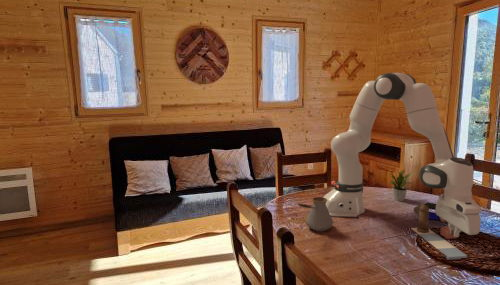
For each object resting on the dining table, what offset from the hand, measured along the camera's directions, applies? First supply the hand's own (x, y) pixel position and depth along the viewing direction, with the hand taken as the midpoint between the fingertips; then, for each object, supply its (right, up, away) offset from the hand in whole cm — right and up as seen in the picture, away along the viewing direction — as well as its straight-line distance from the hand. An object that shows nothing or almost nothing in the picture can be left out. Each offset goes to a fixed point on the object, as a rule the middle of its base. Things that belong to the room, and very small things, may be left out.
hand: (454, 235), depth 128 cm
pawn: (-7, -1, +9) cm, 12 cm away
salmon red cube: (0, -2, +4) cm, 4 cm away
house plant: (+1, +5, +47) cm, 47 cm away
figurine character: (+4, +1, +22) cm, 22 cm away
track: (-7, -3, 0) cm, 7 cm away
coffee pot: (-52, -2, +13) cm, 53 cm away
